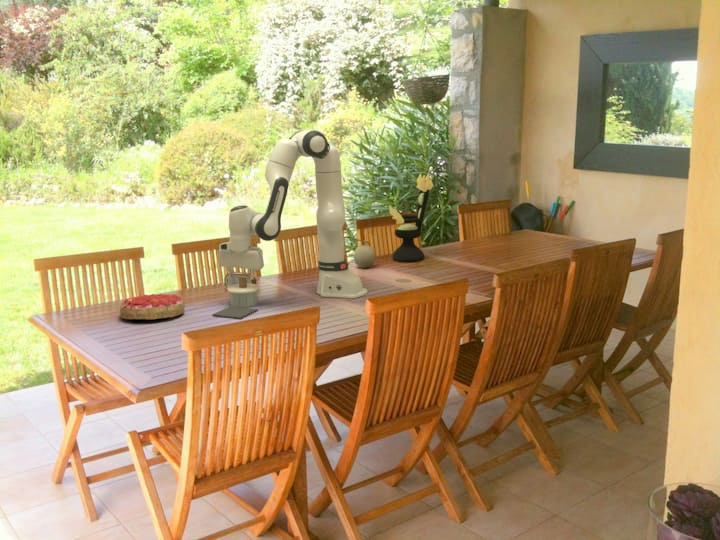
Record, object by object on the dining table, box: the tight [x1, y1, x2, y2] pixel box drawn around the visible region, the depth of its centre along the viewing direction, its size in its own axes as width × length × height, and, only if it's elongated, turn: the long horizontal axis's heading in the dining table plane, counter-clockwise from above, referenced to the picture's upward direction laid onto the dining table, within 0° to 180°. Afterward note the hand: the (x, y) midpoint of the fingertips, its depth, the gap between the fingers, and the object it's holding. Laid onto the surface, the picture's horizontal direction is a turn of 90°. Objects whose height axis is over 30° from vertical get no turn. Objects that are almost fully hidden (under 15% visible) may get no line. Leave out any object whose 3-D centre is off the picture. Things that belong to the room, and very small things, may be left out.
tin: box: [223, 271, 257, 288], centre depth 346 cm, size 15×3×8 cm, turn 71°
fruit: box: [351, 238, 376, 269], centre depth 388 cm, size 10×12×15 cm
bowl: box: [229, 291, 258, 308], centre depth 323 cm, size 11×11×6 cm
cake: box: [119, 293, 186, 321], centre depth 309 cm, size 25×25×8 cm
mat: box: [212, 305, 259, 320], centre depth 310 cm, size 13×13×1 cm
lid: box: [226, 277, 260, 294], centre depth 322 cm, size 13×13×5 cm
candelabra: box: [388, 172, 434, 263], centre depth 402 cm, size 19×22×45 cm
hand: (241, 278), depth 322 cm, fingers open, 8 cm apart
